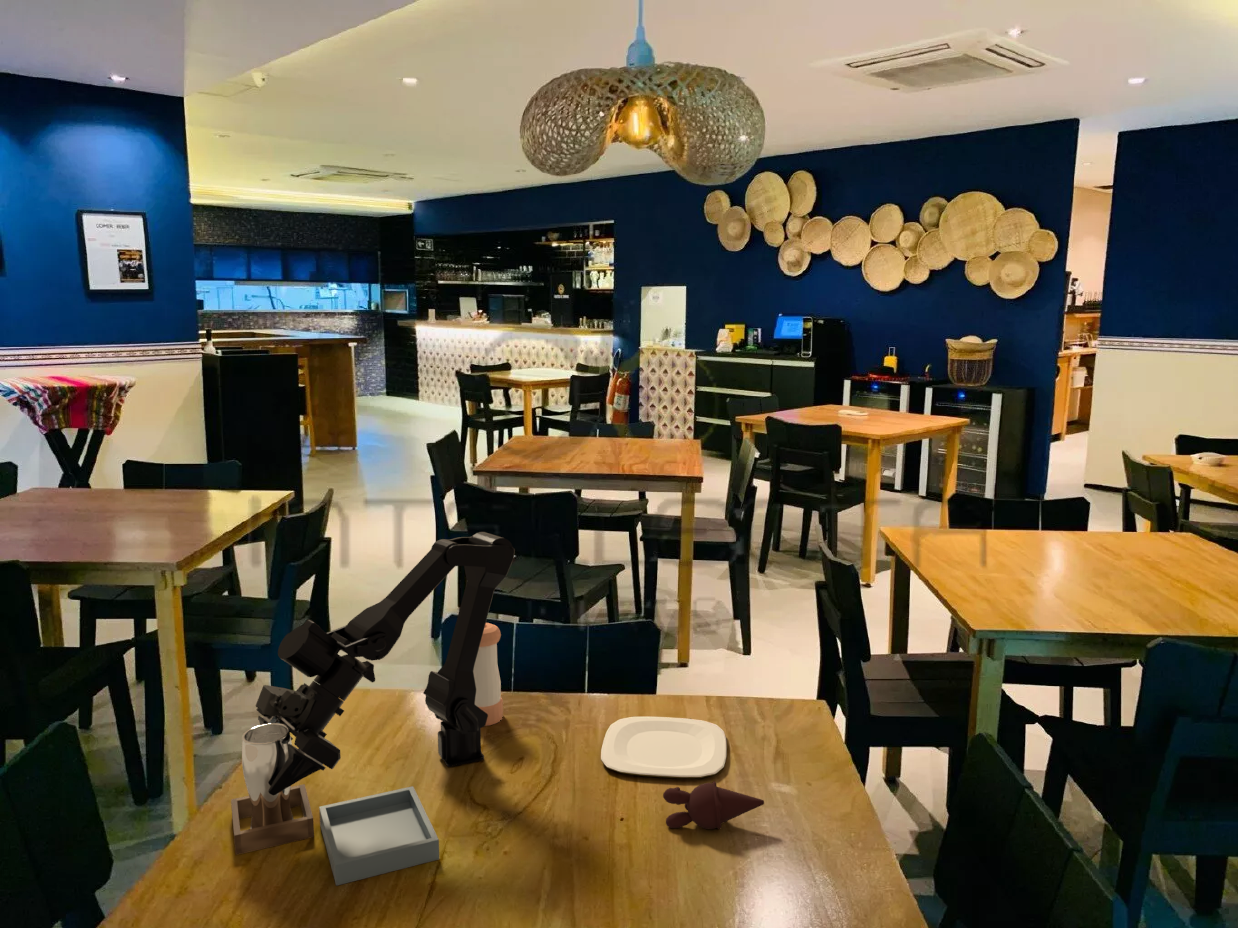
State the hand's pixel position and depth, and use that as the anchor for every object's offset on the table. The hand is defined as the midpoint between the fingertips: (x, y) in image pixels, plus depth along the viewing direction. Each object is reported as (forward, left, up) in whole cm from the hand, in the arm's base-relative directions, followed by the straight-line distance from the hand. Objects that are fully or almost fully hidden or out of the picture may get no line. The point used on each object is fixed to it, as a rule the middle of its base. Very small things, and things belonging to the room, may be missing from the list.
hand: (259, 782), depth 132 cm
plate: (-66, +3, -8) cm, 66 cm away
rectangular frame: (-1, 0, -8) cm, 8 cm away
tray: (-15, +10, -8) cm, 19 cm away
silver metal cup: (-1, 0, -8) cm, 8 cm away
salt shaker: (-41, -23, -8) cm, 47 cm away
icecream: (-61, +27, -8) cm, 67 cm away
